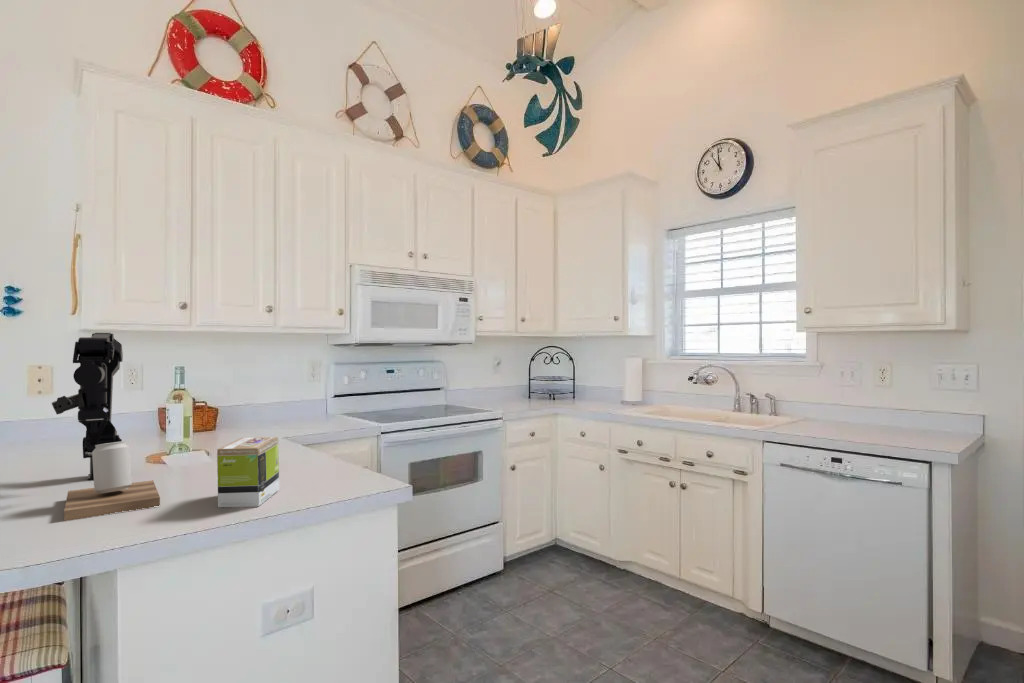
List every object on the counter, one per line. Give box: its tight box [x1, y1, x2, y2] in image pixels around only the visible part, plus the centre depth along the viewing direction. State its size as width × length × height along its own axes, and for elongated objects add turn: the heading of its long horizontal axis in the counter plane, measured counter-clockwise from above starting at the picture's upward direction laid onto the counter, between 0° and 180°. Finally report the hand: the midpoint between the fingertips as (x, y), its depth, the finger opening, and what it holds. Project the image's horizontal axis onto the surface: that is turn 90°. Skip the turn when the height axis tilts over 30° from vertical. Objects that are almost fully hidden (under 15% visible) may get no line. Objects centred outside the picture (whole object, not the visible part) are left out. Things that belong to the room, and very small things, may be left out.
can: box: [92, 440, 133, 494], centre depth 136 cm, size 8×8×12 cm
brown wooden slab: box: [63, 480, 161, 522], centre depth 135 cm, size 20×18×3 cm
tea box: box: [216, 436, 280, 508], centre depth 139 cm, size 15×10×15 cm, turn 5°
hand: (93, 442), depth 145 cm, fingers open, 9 cm apart
